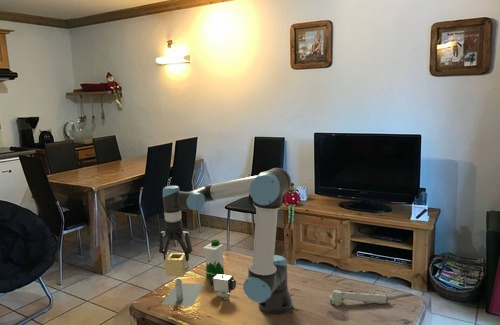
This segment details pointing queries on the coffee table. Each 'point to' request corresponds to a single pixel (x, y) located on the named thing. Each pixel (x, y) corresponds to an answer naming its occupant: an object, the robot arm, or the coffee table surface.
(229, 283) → the pneumatic valve
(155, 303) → the coffee table surface
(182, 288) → the post plate
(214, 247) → the milk carton
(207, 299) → the coffee table surface
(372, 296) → the beige knobbed bar
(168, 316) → the coffee table surface
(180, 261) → the collar
